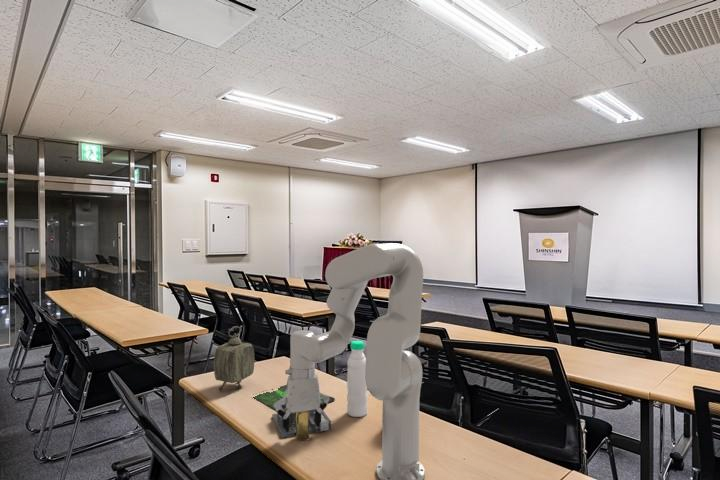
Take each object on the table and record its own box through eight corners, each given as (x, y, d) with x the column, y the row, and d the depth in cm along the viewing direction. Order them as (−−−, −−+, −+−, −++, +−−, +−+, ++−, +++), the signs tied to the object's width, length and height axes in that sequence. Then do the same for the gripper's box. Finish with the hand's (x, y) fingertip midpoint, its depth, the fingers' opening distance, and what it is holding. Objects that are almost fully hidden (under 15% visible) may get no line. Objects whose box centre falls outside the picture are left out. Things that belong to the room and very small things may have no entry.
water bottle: (365, 418, 140) (365, 345, 140) (345, 416, 141) (345, 343, 141) (369, 410, 147) (369, 339, 147) (349, 408, 148) (349, 338, 148)
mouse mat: (248, 396, 160) (248, 394, 160) (294, 382, 175) (294, 380, 175) (288, 419, 140) (288, 416, 140) (337, 401, 156) (337, 398, 156)
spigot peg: (310, 439, 126) (310, 406, 125) (297, 442, 124) (297, 408, 124) (307, 433, 129) (307, 401, 129) (294, 436, 128) (294, 403, 128)
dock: (331, 429, 132) (332, 413, 132) (281, 438, 126) (281, 422, 126) (317, 409, 147) (317, 395, 147) (272, 417, 141) (272, 402, 141)
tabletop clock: (239, 380, 177) (239, 322, 177) (256, 383, 173) (256, 324, 173) (213, 392, 164) (213, 329, 164) (231, 395, 160) (231, 331, 160)
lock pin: (328, 429, 130) (328, 421, 130) (320, 431, 129) (320, 422, 129) (320, 418, 138) (320, 410, 138) (312, 419, 137) (312, 411, 137)
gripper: (276, 379, 120) (276, 438, 120) (333, 372, 126) (332, 428, 127) (271, 371, 127) (271, 426, 127) (325, 365, 133) (325, 418, 133)
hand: (302, 427), depth 127 cm, fingers open, 9 cm apart
